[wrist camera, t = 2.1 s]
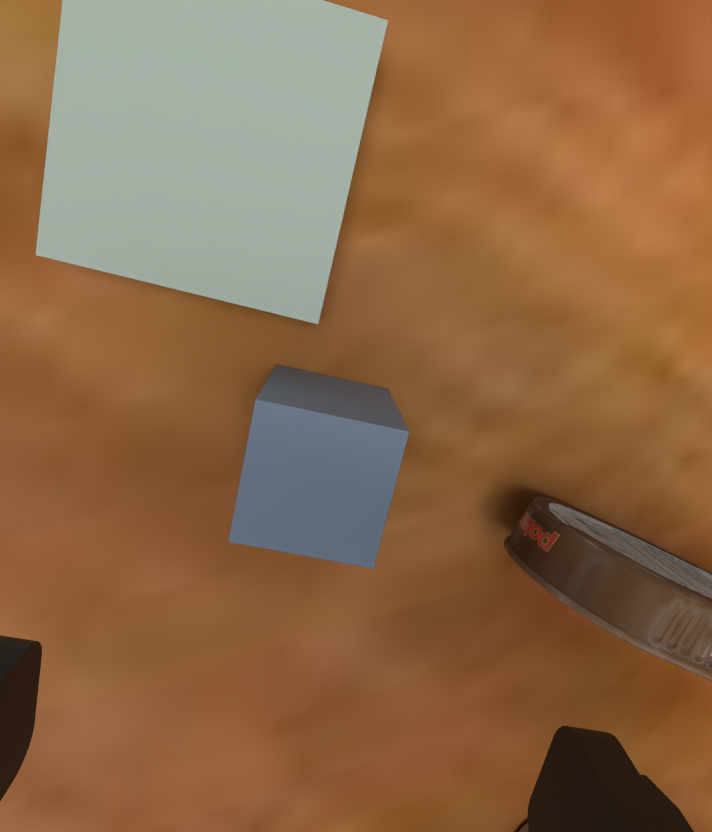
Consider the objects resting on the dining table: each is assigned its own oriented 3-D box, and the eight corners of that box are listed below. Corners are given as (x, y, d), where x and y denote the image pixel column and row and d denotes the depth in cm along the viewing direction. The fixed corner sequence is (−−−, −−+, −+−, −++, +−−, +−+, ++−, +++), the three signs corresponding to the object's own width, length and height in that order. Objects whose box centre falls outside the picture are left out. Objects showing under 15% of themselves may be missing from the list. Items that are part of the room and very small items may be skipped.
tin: (479, 518, 26) (546, 628, 18) (512, 462, 26) (597, 549, 18) (727, 634, 29) (886, 777, 20) (763, 585, 28) (942, 712, 20)
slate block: (387, 388, 25) (409, 431, 18) (362, 491, 26) (373, 568, 19) (276, 364, 24) (255, 399, 17) (255, 470, 25) (228, 541, 18)
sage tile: (377, 65, 22) (388, 20, 18) (319, 316, 24) (318, 324, 20) (119, -12, 21) (71, -78, 17) (85, 258, 23) (35, 254, 19)
